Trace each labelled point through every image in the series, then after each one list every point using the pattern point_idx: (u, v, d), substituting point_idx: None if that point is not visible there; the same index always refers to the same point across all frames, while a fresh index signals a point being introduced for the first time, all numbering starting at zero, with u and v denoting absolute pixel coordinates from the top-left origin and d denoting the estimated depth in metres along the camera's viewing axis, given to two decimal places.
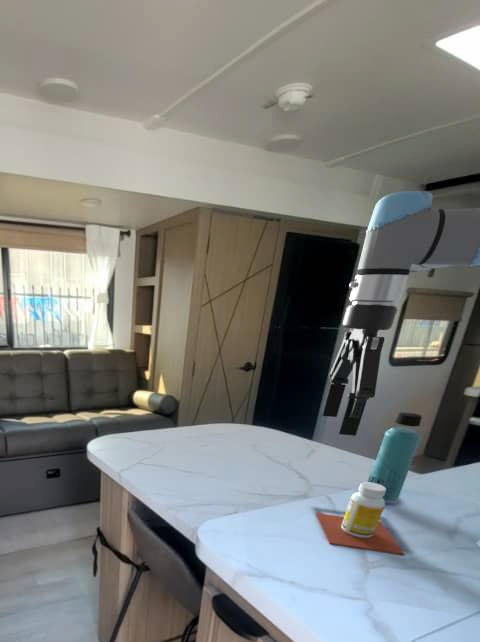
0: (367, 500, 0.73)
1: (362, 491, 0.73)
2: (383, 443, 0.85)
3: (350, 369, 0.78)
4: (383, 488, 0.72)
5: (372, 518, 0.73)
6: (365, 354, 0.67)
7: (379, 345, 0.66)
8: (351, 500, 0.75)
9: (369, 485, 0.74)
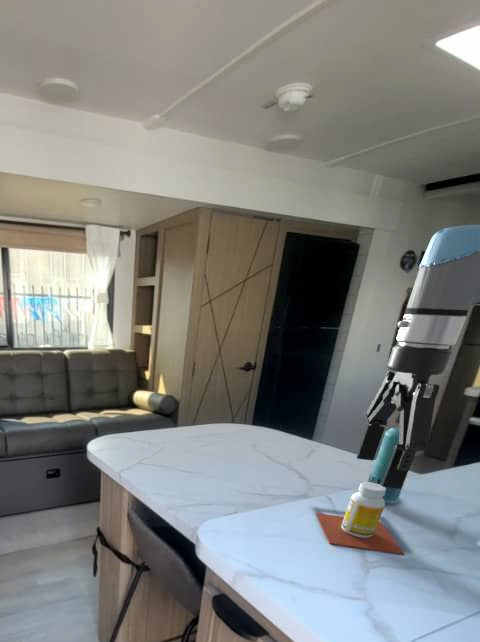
0: (367, 500, 0.73)
1: (362, 491, 0.73)
2: (383, 443, 0.85)
3: (391, 411, 0.72)
4: (383, 488, 0.72)
5: (372, 518, 0.73)
6: (417, 403, 0.60)
7: (433, 393, 0.59)
8: (351, 500, 0.75)
9: (369, 485, 0.74)
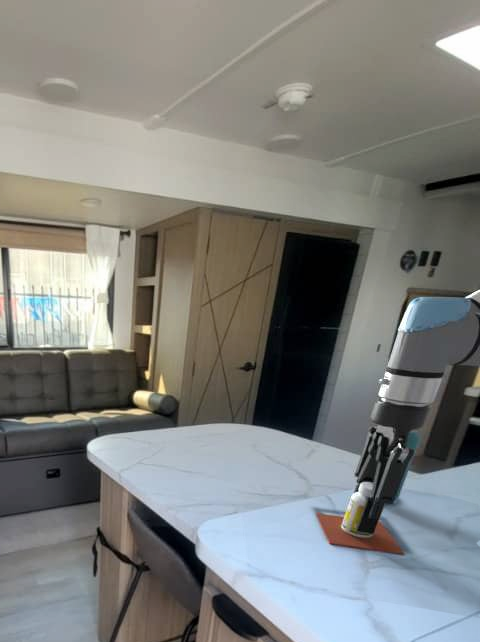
0: None
1: (362, 491, 0.73)
2: None
3: None
4: None
5: None
6: (391, 464, 0.65)
7: (407, 458, 0.64)
8: (351, 500, 0.75)
9: (369, 485, 0.74)
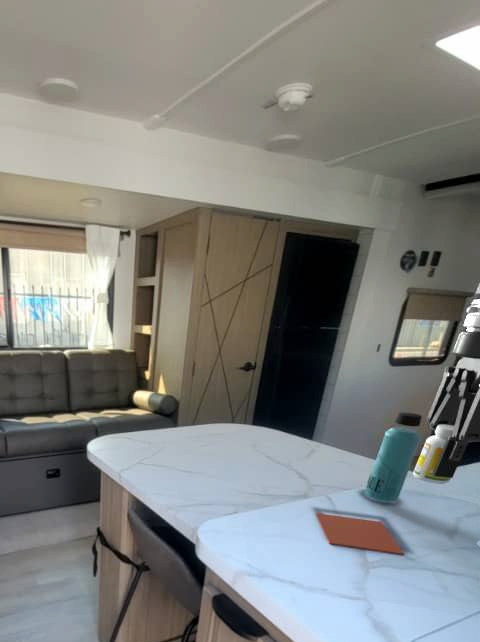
0: None
1: (440, 433, 0.69)
2: (383, 443, 0.85)
3: (457, 407, 0.70)
4: None
5: None
6: None
7: None
8: (427, 444, 0.71)
9: (447, 427, 0.70)
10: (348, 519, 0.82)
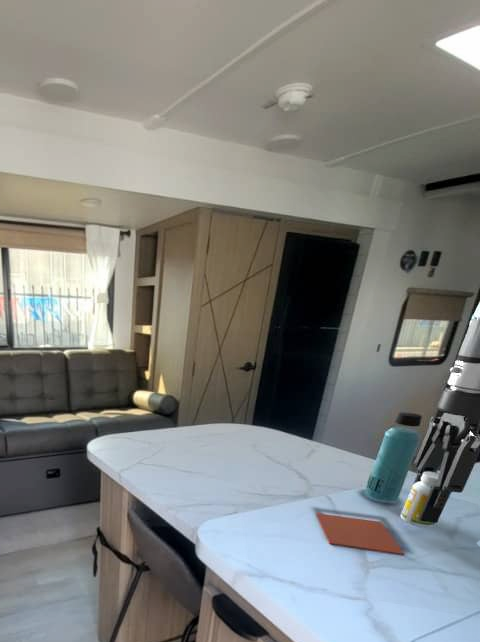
0: None
1: (426, 481, 0.73)
2: (383, 443, 0.85)
3: (442, 456, 0.74)
4: None
5: None
6: (463, 453, 0.66)
7: None
8: (413, 490, 0.75)
9: (432, 474, 0.74)
10: (348, 519, 0.82)
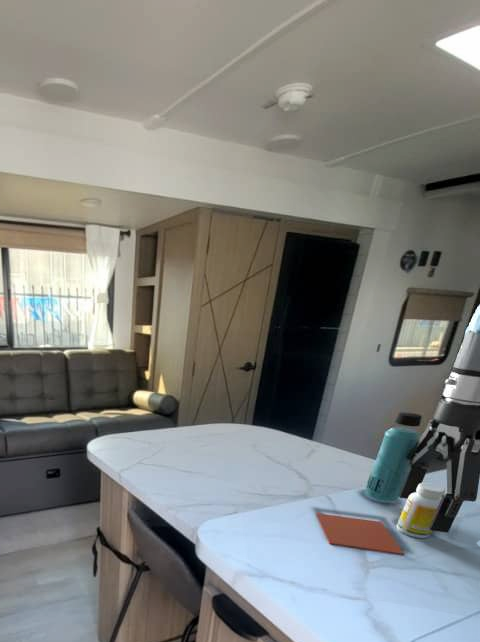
0: (426, 501, 0.74)
1: (421, 492, 0.74)
2: (383, 443, 0.85)
3: (434, 456, 0.76)
4: (442, 489, 0.74)
5: (431, 518, 0.74)
6: (466, 457, 0.65)
7: None
8: (409, 501, 0.76)
9: (428, 486, 0.75)
10: (348, 519, 0.82)
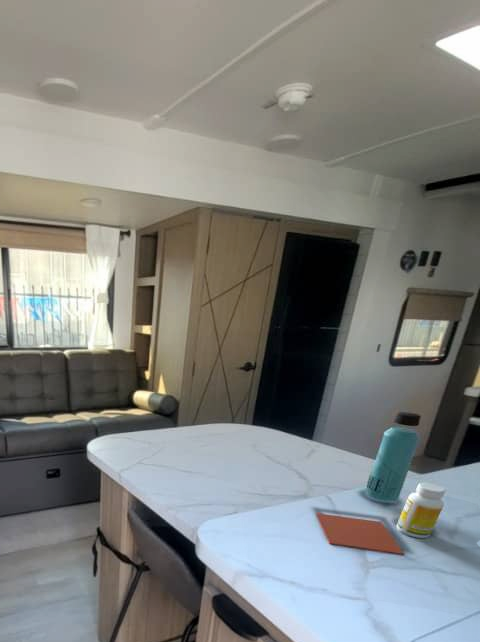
0: (426, 501, 0.74)
1: (421, 492, 0.74)
2: (382, 443, 0.85)
3: None
4: (442, 489, 0.74)
5: (431, 518, 0.74)
6: None
7: None
8: (409, 501, 0.76)
9: (428, 486, 0.75)
10: (348, 519, 0.82)
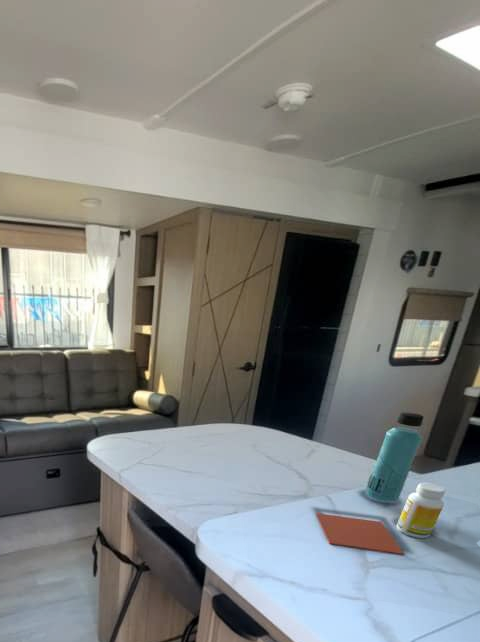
0: (426, 501, 0.74)
1: (421, 492, 0.74)
2: (384, 443, 0.85)
3: None
4: (442, 489, 0.74)
5: (431, 518, 0.74)
6: None
7: None
8: (409, 501, 0.76)
9: (428, 486, 0.75)
10: (348, 519, 0.82)
